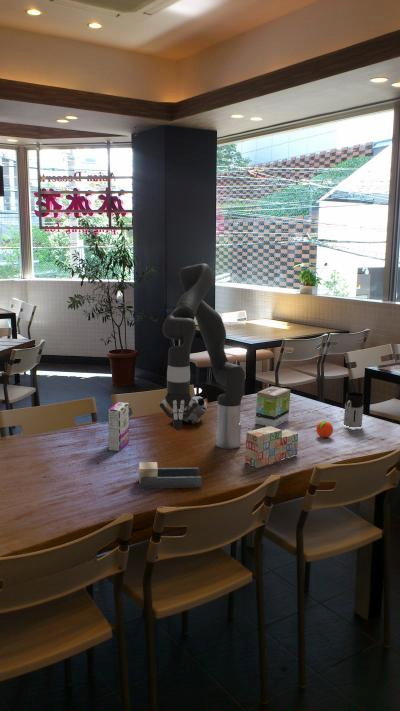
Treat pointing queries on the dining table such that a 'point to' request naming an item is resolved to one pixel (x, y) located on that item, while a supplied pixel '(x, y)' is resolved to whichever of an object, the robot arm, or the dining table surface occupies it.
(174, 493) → the dining table surface
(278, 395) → the tea box
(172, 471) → the chute
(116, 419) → the candy bar box
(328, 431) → the clementine
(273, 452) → the stack of blocks
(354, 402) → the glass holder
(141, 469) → the birch block
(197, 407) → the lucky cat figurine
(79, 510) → the dining table surface
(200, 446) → the dining table surface
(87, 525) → the dining table surface
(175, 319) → the robot arm
